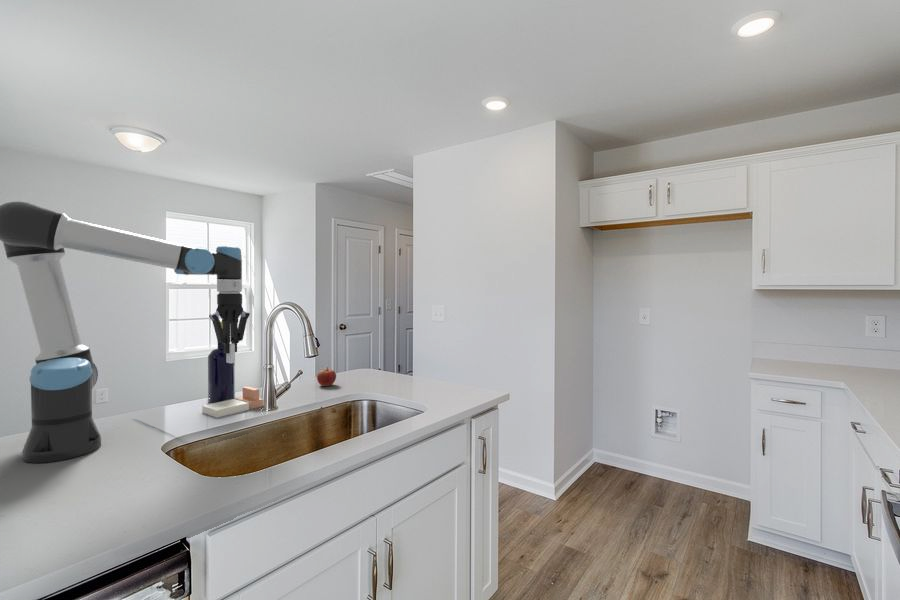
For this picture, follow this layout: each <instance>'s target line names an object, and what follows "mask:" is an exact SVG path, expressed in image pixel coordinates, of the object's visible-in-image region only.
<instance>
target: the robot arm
mask: <svg viewBox="0 0 900 600" xmlns="http://www.w3.org/2000/svg"><path fill="white" fill-rule="evenodd" d="M0 241H1V242H2V244H3V245H2V246H3V247H4V251H5V255H6V257H7V258H6V259H7V260H8V261H10V262H12V263H13V264H15V265H16V266H17V268H18V272H19V275H20V276H19V277H20V281H21V283H22V288H23V291H24V294H25V298H26V301H27V305H28V309H29V312H30V316H31V320H32V324H33V327H34V332H35V335H36V339H37V343H38V345H39V350H40V351H39V354H37V356H36V357H35V358H34V359H35V363H36V364H35V365H34V366H32V367H31V370H30V375H29V382H30V408H31V410H30V411H31V413H30V414H31V428H30V431H29V433H28V436H27V438H26V441H25V443H24V445H23V448H22V451H21V452H22V461H23V462H25V463H31V464H32V463H34V464H38V463H52V462H58V461H64V460H70V459H73V458H77V457H80V456H84V455H86V454H89V453H92V452H94V451H96V450H98V449H100V447H101V446H102V436H101V434H100V432H99V429H98V428H97V425H96V423H95V421H94V418H93V388H95V385H96V384H97V382H98V377H99V371H98V367H97V365H96V364H95V362H94V360H93V357H92V353H91V349H90V347H89V346H87V345H85V344H83V343H82V342H81V339H80V334H79V330H78V326H77V323H76V318H75V315H74V311H73V310H74V309H73V307H72V303H71V300H70V294H69V291H68V288H67V285H66V284H67V282H66V280H65V276H64V273H63V269H62V265H61V260H62V258H64V256H65V255H66V251H65V249H69V250H74V251H75V250H76V251H79V252H85V253H91V254H95V255H100V256H106V257H111V258H115V259H120V260H121V259H122V260H125V261H126V260H127V261H131V262H137V263H141V264H146V265H152V266H155V267H156V266H157V267H161V268H167V269H171V270H173V272H174V273H175V274H177V275H185V276H189V275H191V276H192V275H194V276H195V275H196V276H201V275H203V276H204V275H210V276H214V275H215V276H216V292H218V293H217V294H216V303H217V308H216V310H215V312H214V313H212V314H211V313H210V314H209V315H208V316H209V319H210V320H211V321H212V325H213V329H214V333H215V337H216V340H218V342H221V343H223V344H224V353H226V363H235V364H236V353H238V344H239V343H240V342H241V341H243V339H244V336H245V331H246V328H247V327H246V326H247V322H248V319H249V317H250V315H251V314H250V312H247V311H245V310H244V307H243V294H242V292H243V280H242V279H243V278H242V277H243V274H242V273H243V272H242V271H243V264H242V263H243V259H242V249H241V248H240V247H238V246H231V245H230V246H229V245H227V246H226V245H221V246H220V245H219V246H217V247H216V250H215V251H209V250H208V249H206V248H203V247H193V246H189V245H186V244H185V245H184V244H181V243H177V242H172V241H168V240H163V239H159V238H156V237H150V236H146V235H142V234H138V233H133V232H130V231H125V230H120V229H117V228H112V227H107V226H102V225H99V224H94V223H89V222H85V221H81V220H77V219H74V218H73V219H72V218H71V217H69V216H68V215H67V214H66V213H64V212H60V211H56V210H52V209H48V208H45V207H41V206H40V205H36V204H33V203H31V202H27V201H9V202H5V203H2V204H1V205H0ZM220 318H221V321H222V323H223V331H222V327H221V323H220ZM218 342H217V343H218Z"/></svg>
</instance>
